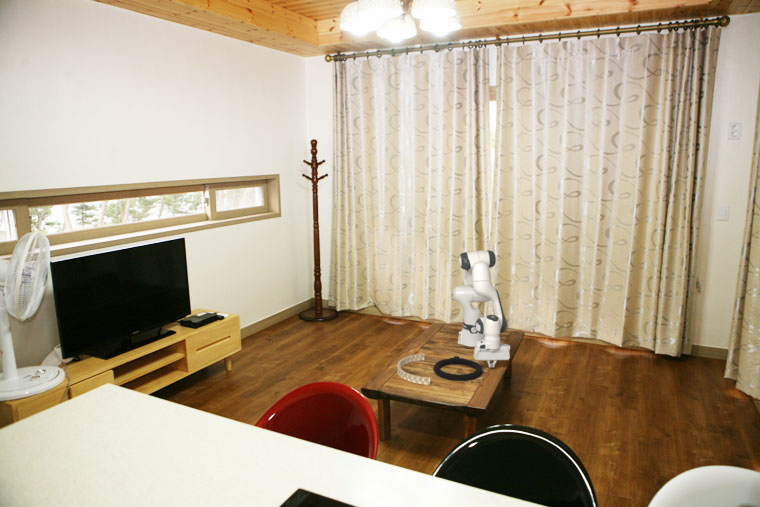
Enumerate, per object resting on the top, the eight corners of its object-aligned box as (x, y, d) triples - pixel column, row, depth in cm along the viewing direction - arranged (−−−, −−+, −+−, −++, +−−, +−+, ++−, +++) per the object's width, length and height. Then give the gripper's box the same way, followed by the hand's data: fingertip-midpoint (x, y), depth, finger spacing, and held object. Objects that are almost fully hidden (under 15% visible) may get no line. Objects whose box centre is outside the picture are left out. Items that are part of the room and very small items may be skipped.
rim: (395, 359, 314) (395, 354, 314) (424, 359, 315) (424, 353, 314) (398, 385, 278) (398, 379, 277) (430, 384, 278) (430, 378, 277)
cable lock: (433, 375, 283) (433, 355, 312) (433, 381, 283) (433, 361, 313) (484, 376, 280) (479, 355, 309) (484, 383, 280) (479, 362, 310)
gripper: (508, 341, 297) (508, 364, 299) (473, 342, 297) (472, 365, 299) (511, 345, 291) (510, 368, 293) (475, 346, 291) (474, 369, 293)
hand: (491, 366), depth 296 cm, fingers closed
